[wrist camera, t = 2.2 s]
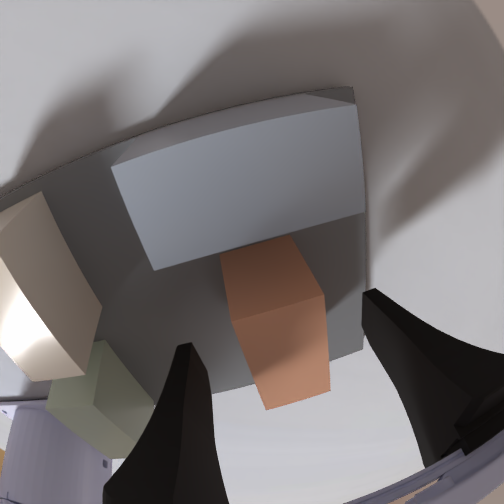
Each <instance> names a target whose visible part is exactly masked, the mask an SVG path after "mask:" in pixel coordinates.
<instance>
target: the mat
mask: <svg viewBox="0 0 504 504" xmlns="http://www.w3.org/2000/svg"><path fill="white" fill-rule="evenodd" d="M300 94H307V95H313V96H318V97H323V98H328V99H333V100H338V101H343V102H347V103H352V104H355V99H354V92H353V87H338V88H331V89H323V90H316V91H310V92H304V93H298V94H292V95H286V96H281V97H276V98H271V99H266V100H261V101H256V102H252V103H247V104H243V105H239V106H235V107H230V108H226V109H222V110H219V111H215V112H211V113H207V114H204V115H200V116H197V117H193V118H190V119H186V120H183V121H180V122H176V123H173V124H170V125H167V126H164V127H161V128H158V129H155V130H152V131H149V132H146V133H143V134H140V135H137V136H134V137H132V138H129V139H126V140H124V141H121V142H118V143H116V144H113V145H111V146H108V147H106V148H103V149H101V150H98V151H96V152H93V153H91V154H89V155H86V156H84V157H82V158H79V159H77V160H75V161H72V162H70V163H68V164H66V165H64V166H61V167H59V168H57V169H55V170H53V171H51V172H49V173H47V174H45V175H43V176H41V177H39V178H37V179H35V180H33V181H31V182H29V183H27V184H25V185H23V186H21V187H19V188H18V189H16V190H14V191H12V192H10V193H8V194H7V195H5V196H3V197H1V198H0V212H2V211H4V210H5V209H7V208H9V207H11V206H13V205H15V204H17V203H19V202H21V201H23V200H25V199H27V198H28V197H30V196H33V195H35V194H37V193H39V192H41V191H42V193H43V195H44V198H45V200H46V202H47V204H48V207H49V209H50V211H51V213H52V215H53V217H54V220H55V222H56V224H57V226H58V228H59V230H60V232H61V234H62V236H63V238H64V240H65V242H66V244H67V246H68V248H69V249H70V251H71V253H72V255H73V257H74V259H75V261H76V262H77V264H78V266H79V268H80V270H81V272H82V273H83V275H84V277H85V279H86V280H87V282H88V284H89V285H90V287H91V289H92V290H93V292H94V294H95V295H96V297H97V299H98V300H99V302H100V304H101V305H102V311H101V314H100V318H99V322H98V325H97V329H96V333H95V337H94V341H93V342H97V341H101V340H106V342H107V343H108V344H109V346H110V347H111V348H112V350H113V351H114V352H115V354H116V355H117V356H118V358H119V359H120V360H121V362H122V363H123V364H124V365H125V367H126V368H127V369H128V371H129V372H130V373H131V374H132V376H133V377H134V378H135V379H136V380H137V382H138V383H139V384H140V385H141V386H142V388H143V389H144V390H145V391H146V392H147V394H148V395H149V396H150V397H151V398H152V399H153V401H154V405H157V402H158V400H159V397H160V395H161V392H162V390H163V387H164V384H165V381H166V379H167V376H168V373H169V370H170V367H171V364H172V360H173V357H174V354H175V350H176V347H177V346H178V345H181V344H185V343H189V342H192V343H193V345H194V347H195V349H196V351H197V353H198V354H199V356H200V358H201V360H202V362H203V364H204V365H205V367H206V369H207V371H208V376H209V382H210V387H211V394H215V393H219V392H224V391H228V390H232V389H236V388H240V387H244V386H248V385H252V384H255V382H254V379H253V377H252V374H251V372H250V369H249V367H248V364H247V361H246V359H245V356H244V354H243V351H242V349H241V346H240V343H239V341H238V338H237V336H236V333H235V330H234V328H233V325H232V322H231V318H230V312H229V307H228V301H227V296H226V290H225V284H224V278H223V273H222V267H221V261H220V255H219V254H222V253H226V252H229V251H233V250H236V249H240V248H243V247H247V246H250V245H254V244H258V243H261V242H265V241H268V240H272V239H275V238H279V237H283V236H286V235H290V236H291V237H292V239H293V241H294V243H295V244H296V246H297V248H298V249H299V251H300V253H301V255H302V256H303V258H304V260H305V261H306V263H307V265H308V267H309V268H310V270H311V272H312V274H313V275H314V277H315V279H316V281H317V283H318V284H319V286H320V288H321V290H322V291H323V293H324V298H325V310H326V322H327V336H328V352H329V361H332V360H335V359H338V358H340V357H343V356H346V355H349V354H352V353H354V352H357V351H360V350H362V349H363V339H364V331H363V328H362V326H361V320H362V292H365V291H366V233H365V212H362V213H359V214H355V215H351V216H348V217H344V218H340V219H337V220H333V221H330V222H326V223H322V224H319V225H315V226H311V227H308V228H304V229H301V230H297V231H293V232H290V233H286V234H282V235H279V236H275V237H272V238H268V239H265V240H261V241H257V242H254V243H250V244H247V245H243V246H240V247H236V248H233V249H229V250H225V251H222V252H218V253H215V254H211V255H208V256H204V257H201V258H197V259H194V260H190V261H187V262H183V263H180V264H176V265H173V266H169V267H166V268H162V269H159V270H155V271H154V270H153V267H152V265H151V263H150V261H149V259H148V256H147V254H146V252H145V250H144V248H143V245H142V243H141V241H140V238H139V236H138V234H137V232H136V229H135V227H134V225H133V222H132V220H131V217H130V215H129V213H128V210H127V208H126V205H125V203H124V200H123V198H122V195H121V193H120V190H119V188H118V185H117V182H116V180H115V177H114V174H113V172H112V169H111V166H112V165H113V164H114V163H115V162H116V161H117V159H118V158H119V157H120V156H121V155H122V154H123V153H124V152H125V151H126V149H127V148H128V147H129V146H130V145H131V144H132V143H133V142H134V141H135V140H136V139H137V138H138V137H139V136H142V135H145V134H147V133H150V132H153V131H156V130H159V129H162V128H165V127H169V126H172V125H175V124H178V123H181V122H185V121H188V120H192V119H195V118H198V117H202V116H206V115H209V114H213V113H217V112H221V111H225V110H229V109H233V108H237V107H241V106H245V105H250V104H254V103H259V102H263V101H268V100H273V99H278V98H284V97H289V96H295V95H300Z"/></svg>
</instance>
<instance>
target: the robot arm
mask: <svg viewBox="0 0 504 504" xmlns="http://www.w3.org/2000/svg"><path fill="white" fill-rule="evenodd" d="M361 326H362V328H363V331H364V333H365V335H366V337H367V339H368V342H369V344H370V346H371V347H372V349H373V351H374V352H375V354H376V356H377V357H378V359H379V361H380V362H381V364H382V366H383V367H384V369H385V370H386V372H387V374H388V375H389V377H390V379H391V380H392V382H393V384H394V386H395V388H396V389H397V391H398V394H399V396H400V398H401V400H402V403H403V405H404V407H405V410H406V412H407V415H408V418H409V420H410V423H411V425H412V428H413V431H414V434H415V437H416V440H417V443H418V446H419V450H420V453H421V457H422V461H423V465H424V467H425V469H423V470H421V471H419V472H417V473H416V474H413V475H411V476H409V477H407V478H405V479H403V480H401V481H399V482H397V483H394V484H392V485H390V486H388V487H385V488H383V489H381V490H378V491H376V492H373V493H371V494H368V495H366V496H363V497H360V498H358V499H355V500H352V501H349V502H347V503H344V504H388V503H390V502H392V501H394V500H397V499H399V498H401V497H403V496H405V495H408V494H410V493H412V492H414V491H416V490H418V489H420V488H422V487H424V486H426V485H427V484H429V483H431V482H433V481H435V480H437V479H438V478H439V479H438V481H437V482H436V483H435V484H433V485H431V486H430V487H428V488H426V489H425V490H423V491H421V492H419V493H418V494H416V495H415V496H414V497H413V498H411V499H410V500H408V501H407V502H405V504H476V503H478V502H479V501H480V500H482V499H483V498H484V497H486V496H487V495H488V494H490V493H491V492H492V491H493V490H495V489H496V488H497V487H499V486H500V485H501V484H502V483H503V482H504V354H501V353H497V352H493V351H489V350H486V349H482V348H479V347H476V346H473V345H471V344H468V343H466V342H463V341H461V340H458V339H456V338H454V337H452V336H450V335H448V334H446V333H444V332H441V331H440V330H438V329H436V328H434V327H432V326H431V325H429V324H427V323H426V322H424V321H422V320H421V319H419V318H418V317H416V316H415V315H413V314H412V313H410V312H409V311H407V310H406V309H404V308H403V307H401V306H400V305H398V304H397V303H396V302H394V301H393V300H391V299H390V298H389V297H387V296H386V295H384V294H383V293H382V292H380V291H379V290H377V289H376V288H374V289H371V290H368V291H365V292H362V320H361ZM46 403H47V400H33V401H14V402H0V411H1V412H2V413H3V414H5V415H6V416H7V417H8V418H9V419H11V420H12V425H11V429H10V433H9V437H8V442H7V446H6V451H5V456H4V461H3V467H2V472H1V478H0V504H229V502H228V498H227V494H226V491H225V487H224V483H223V479H222V475H221V470H220V466H219V461H218V456H217V451H216V446H215V438H214V424H213V409H212V394H211V387H210V382H209V376H208V371H207V369H206V367H205V365H204V364H203V362H202V360H201V358H200V356H199V354H198V353H197V351H196V349H195V347H194V345H193V343H192V342H189V343H185V344H181V345H178V346H177V347H176V350H175V354H174V357H173V360H172V364H171V367H170V370H169V373H168V376H167V379H166V381H165V384H164V387H163V390H162V392H161V395H160V397H159V400H158V402H157V405H156V407H155V409H154V411H153V414H152V416H151V418H150V420H149V422H148V424H147V426H146V428H145V429H144V431H143V433H142V435H141V436H140V438H139V440H138V442H137V443H136V445H135V446H134V448H133V449H132V451H131V452H130V454H129V455H128V456H127V458H126V459H125V461H124V462H123V463H122V465H121V466H120V467H119V469H118V470H117V471H116V472H115V473H114V474H113V476H112V459H110V458H108V457H107V456H105V455H104V454H102V453H101V452H99V451H98V450H97V449H95V448H94V447H92V446H91V445H90V444H88V443H87V442H86V441H84V440H83V439H82V438H80V437H79V436H78V435H76V434H75V433H74V432H72V431H71V430H70V429H69V428H67V427H66V426H65V425H64V424H63V423H61V422H60V421H59V420H58V419H57V418H55V417H54V416H53V415H52V414H51V413H50V412H48V411H47V410H46V409H45V408H46Z"/></svg>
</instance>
